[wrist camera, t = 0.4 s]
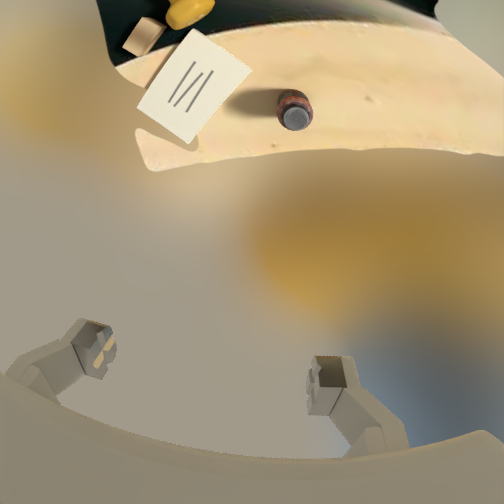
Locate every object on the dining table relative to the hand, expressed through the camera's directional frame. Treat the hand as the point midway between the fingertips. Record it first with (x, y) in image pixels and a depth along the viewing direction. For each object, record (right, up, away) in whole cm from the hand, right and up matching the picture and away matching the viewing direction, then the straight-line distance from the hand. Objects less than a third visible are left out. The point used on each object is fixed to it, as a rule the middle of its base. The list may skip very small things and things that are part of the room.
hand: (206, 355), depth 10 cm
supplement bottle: (+10, +32, +38) cm, 50 cm away
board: (-10, +36, +37) cm, 52 cm away
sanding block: (-18, +45, +29) cm, 57 cm away
